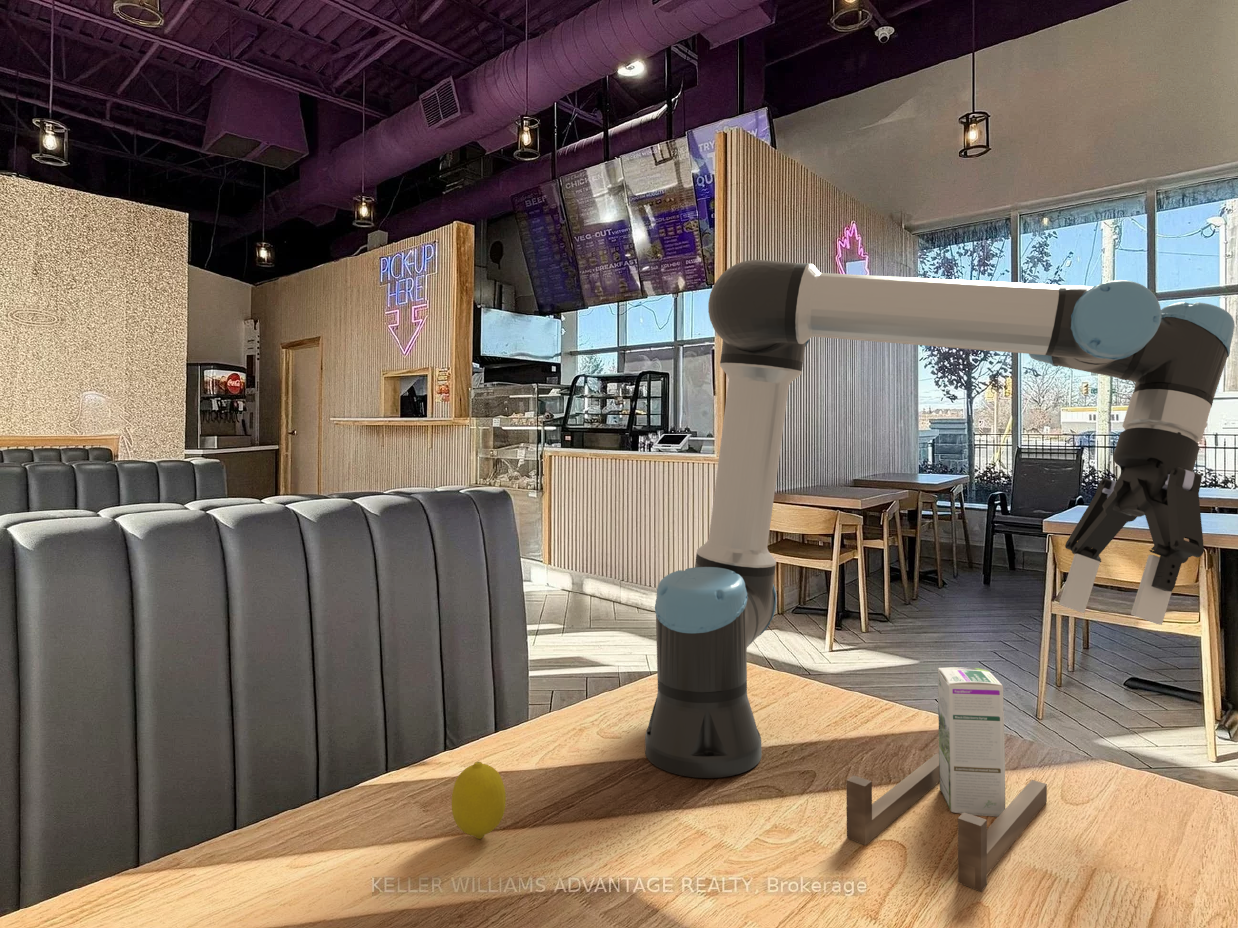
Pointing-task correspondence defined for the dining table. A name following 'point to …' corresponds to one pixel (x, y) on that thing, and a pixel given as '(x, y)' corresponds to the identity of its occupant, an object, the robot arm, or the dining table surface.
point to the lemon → (478, 800)
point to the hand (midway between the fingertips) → (1105, 614)
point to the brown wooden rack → (974, 839)
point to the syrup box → (971, 741)
